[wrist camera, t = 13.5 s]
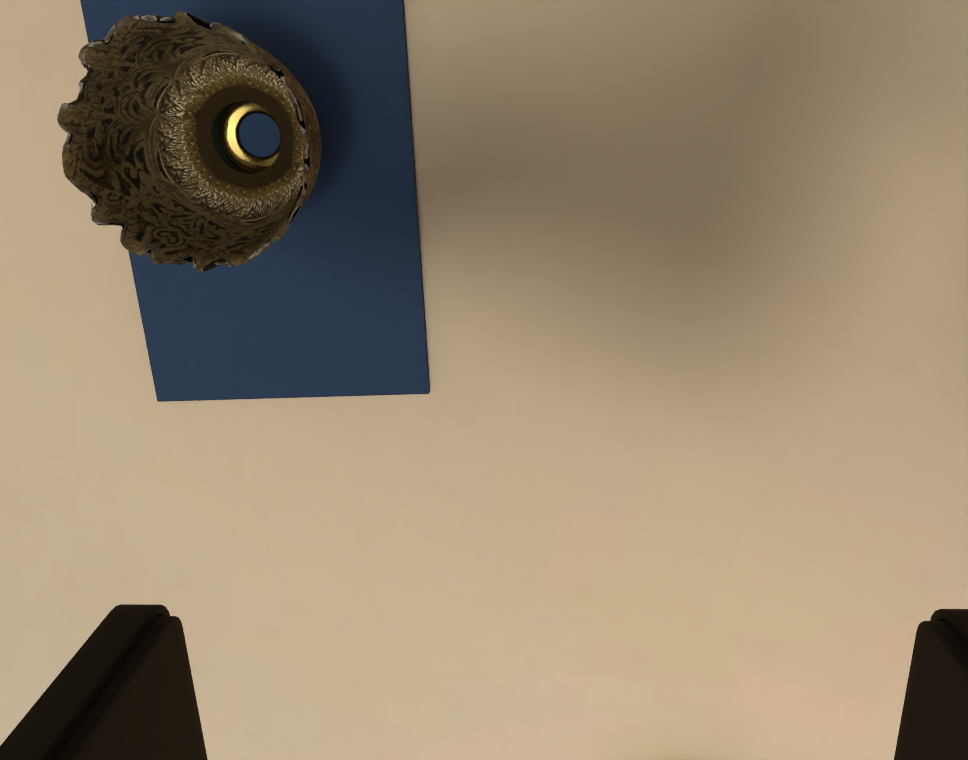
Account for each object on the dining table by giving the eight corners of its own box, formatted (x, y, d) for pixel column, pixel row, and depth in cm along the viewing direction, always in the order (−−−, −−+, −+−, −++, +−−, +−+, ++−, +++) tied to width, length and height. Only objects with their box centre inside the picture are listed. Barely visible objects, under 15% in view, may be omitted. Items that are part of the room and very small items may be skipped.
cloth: (389, -206, 27) (388, -210, 27) (429, 390, 35) (429, 394, 35) (49, -186, 28) (43, -191, 28) (160, 398, 35) (157, 402, 35)
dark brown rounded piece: (300, 265, 33) (239, 317, 25) (135, 168, 32) (19, 192, 24) (388, 102, 31) (350, 105, 23) (214, -10, 29) (114, -44, 22)
